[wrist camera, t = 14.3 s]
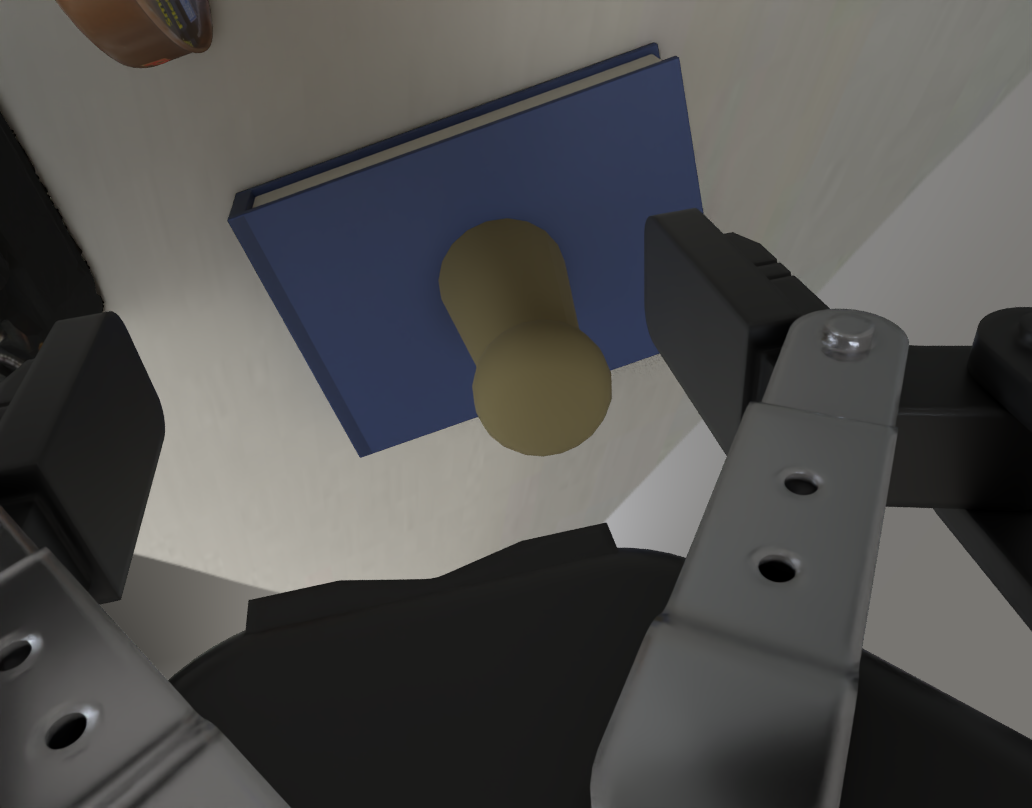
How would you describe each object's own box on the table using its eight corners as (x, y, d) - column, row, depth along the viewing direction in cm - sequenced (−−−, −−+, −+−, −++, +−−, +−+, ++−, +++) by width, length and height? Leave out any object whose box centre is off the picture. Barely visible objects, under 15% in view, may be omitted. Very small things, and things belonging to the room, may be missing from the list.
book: (359, 422, 44) (359, 458, 41) (235, 193, 36) (226, 220, 33) (699, 303, 43) (722, 331, 41) (654, 41, 35) (679, 57, 32)
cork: (484, 357, 39) (523, 506, 30) (412, 267, 36) (433, 404, 27) (588, 292, 38) (661, 426, 29) (524, 192, 34) (585, 309, 26)
